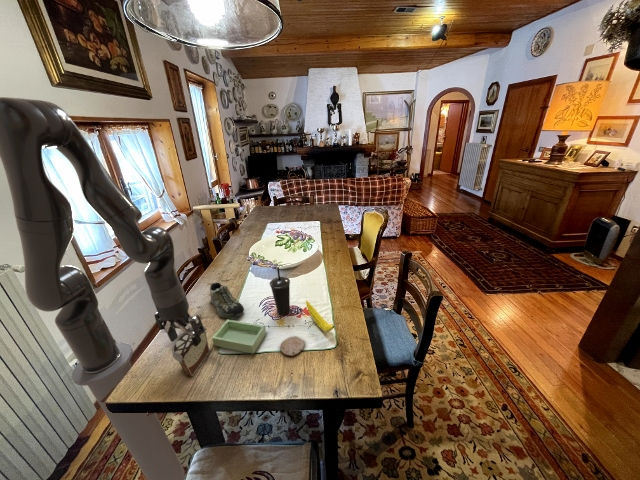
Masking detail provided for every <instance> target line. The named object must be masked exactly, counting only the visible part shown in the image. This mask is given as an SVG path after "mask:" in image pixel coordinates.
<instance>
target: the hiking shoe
mask: <svg viewBox="0 0 640 480" xmlns="http://www.w3.org/2000/svg"><path fill="white" fill-rule="evenodd" d="M209 294H210V302H211V304H212V305H214V306H215V307H216V309H217V314H218V316H219V317H220V318H223V319H226V320H235V319H238V318H239V317H240V316H242V314H244V311H245V307H244V306H243V304H242V303H240V301H238V300H237V298H235V296H233V294H232V293H231V291H230V289H229V288H228V286H227V285H224V284H223V285H222V284H221V283H220V282H214V283H211V284H210V286H209Z"/></svg>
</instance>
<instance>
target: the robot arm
mask: <svg viewBox="0 0 640 480" xmlns="http://www.w3.org/2000/svg"><path fill="white" fill-rule="evenodd" d="M43 149H56V150H57V151H58V152H60V153H61V154H62V156H64V157H65V158H66V159H67V160H68V161H69V163H70V164H71V165H72V167H73V168H74V170H75V173H76V176H77V178H78V182H79V185H80V189H81V192H82V195H83V197H84V199H85V201H86V202H87V204H88V205H89V207H91V209H92V210H93V211H94V212H95V213H96V214H97V216H99V217H100V218H101V219H102V220H103V221H104V222H105V223H106V225H108V226H109V227H110V229H111V231H112V233H113V235H114V237H115V239H116V240H117V242H118V244H119V246H120V248H121V250H122V251H123V252H124V254H125V255H126V256H127V257H128V258H129V259H131V260H132V261H134V262H135V263H139V264H142V265H143V264H144V265H145V264H148V265H147V266H146V268H145V270H144V272H143V274H144V279H145V281H146V284H147V287H148V288H149V292H150V296H151V299H152V302H153V304H154V307H155V309H156V313H155V314H154V315H153V317H154V319H155V323H156V324H157V328H158V329H159V331H164V333H166V334H167V336H168V339H169V341H170V342H172V343H174V341H175V340H176V339H177V337H178V336H179V335H178V333H177V330H176V329H178V330H181V331H182V333H183V332H184V333H188V334H189V335H190V336H191V339H192V342H193V344H194V346H198V345H199V344H200V342H201V337H200V335H201V334H202V333H203V332H204V331H206V330H204V327H205V326H204V325H203V322H202V320H201V317H200V315H199V314H196V315H194V316H191V314H190V313H189V307H190V304H189V301H188V299H187V295H186V293H185V290H184V287H183V285H182V282H181V281H180V279H179V276H178V272H177V270H176V267H175V263H176V262H175V260H176V258H175V246H174V241H173V238H172V236H171V235H170V233H169V232H168V231H167V230H166V228H165V229H164V228H163V227H161V226H150V227H148V228H146V229H144V230H143V231H142V230H141V228H140V226H139V224H138V222H140V220H141V219H142V218H143V213H142V211H141V210H140V208H139V207H138V206H137V205H136V204H135V203H134V202H133V201H132V200H131V199H130V198H129V197H128V195H127V194H126V193H125V192H124V191H123V190H122V188H120V186H119V185H118V183H116V181H115V180H114V179H113V177H112V176H111V175H110V174H109V172H108V171H107V170H106V168H105V166H104V165H103V164H102V162H101V160H100V159H99V157H98V156H97V154H96V152H94V150H93V148H92V147H91V145H90V144H89V142H88V141H87V139H86V137H85V136H84V135H83V133H82V132H81V130H80V128H79V127H78V126H77V124H76V123H75V121H74V120H73V119H72V118H71V116H70V115H69V114H68V113H67V112H66V111H65V110H64V109H63V107H60V106H59V105H57V104H55V103H53V102H51V101H46V100H42V99H31V98H20V97H6V96H5V97H3V96H0V161H1V163H2V167H3V170H4V173H5V175H6V179H7V183H8V187H9V192H10V196H11V200H12V207H13V214H14V218H15V222H16V228H17V231H18V234H19V238H20V244H21V249H22V255H23V256H22V257H23V264H24V287H25V288H24V289H25V294H26V297H27V299H28V301H29V302H30V304H31V305H32V306H33V307H35V308H36V309H37V310H39V311H42V312H46V313H47V312H48V313H49V312H55V311H57V310H60V311H59V312H58V313H57V315H56V316H55V318H54V324H55V325H56V327H57V329H58V330H59V332H60V333H61V335H62V337H63V338H64V340H65V342H66V343H67V345H68V347H69V348H70V350H71V352H72V353H73V354H74V357H75V358H76V360H77V361H78V363H80V364H81V366H82V368H83V370H84V372H85V373H87V374H95V373H99V372H101V371H104V370H106V369H107V368H109V367H111V366H112V365H113V364H114V363H116V362H117V360H118V359H119V358H120V356H121V351H120V350H119V348H118V346H117V345H116V343H118V342H117V341H116V339H115V338H114V337H113V334H112V332H111V331H110V329H109V327H108V325H107V322H106V321H105V319H104V316H103V315H102V314H101V311H100V310H99V301H98V298H97V295H96V293H95V291H94V289H93V286H92V283H91V281H90V279H89V278H88V276H87V275H86V273H85V272H84V271H83V270H81V269H80V268H78V267H76V266H73V265H62V261H63V258H64V257H65V255H66V252H67V250H68V249H69V246H70V244H71V241H72V239H73V237H74V234H75V221H74V220H75V219H74V211H73V206H72V204H71V202H70V201H69V199H68V198H67V197H66V195H65V194H64V193H63V192H62V191H61V190H60V189H59V188H58V187H57V186H56V185H55V184H54V183H53V182H52V181H51V180H50V179H49V177H48V175H47V173H46V170H45V166H44V162H43V152H42V151H43ZM61 265H62V266H61ZM188 325H189V326H188ZM187 326H188V327H187ZM203 326H204V327H203ZM192 328H193V331H194V332H192V331H191V329H192Z"/></svg>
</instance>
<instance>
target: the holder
mask: <svg viewBox="0 0 640 480" xmlns="http://www.w3.org/2000/svg"><path fill="white" fill-rule="evenodd" d="M266 335H267V330H266V325H263V324H262V325H261V324H257V323H250V322H245V321H238V320H234V319H226V321H225V322H224V323H223V324H222V325H221V327H219V329H218V330H217V331H216V332H215V334H213V336H212V337H211V340H212V344H213V346H215V347H220V348H223V349H229V350H234V351H238V352H243V353H247V354H252V355H254V354H255V353H256V351H257V349H258V348H259V346H260V345H261V343H262V341H263V339H264V338H265V336H266Z"/></svg>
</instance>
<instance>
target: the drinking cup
mask: <svg viewBox="0 0 640 480" xmlns="http://www.w3.org/2000/svg"><path fill="white" fill-rule="evenodd" d="M276 271H277V277H275V278H273V279H271V280H270V281H269V287H270V289H271V293H272V296H273V300H274V304H275V307H276V311H277V314H278V315H280V316H286V315H287V314H289V313H290V312H291V311H290V309H291V308H290V307H291V306H290V304H291V303H290V301H291V300H290V299H291V298H290V297H291V295H290V294H291V293H290V292H291V291H290V288H291V287H290V284H291V280H290V278H289V277H287V276H281V273H280V267H279V266H278V267H276Z"/></svg>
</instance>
